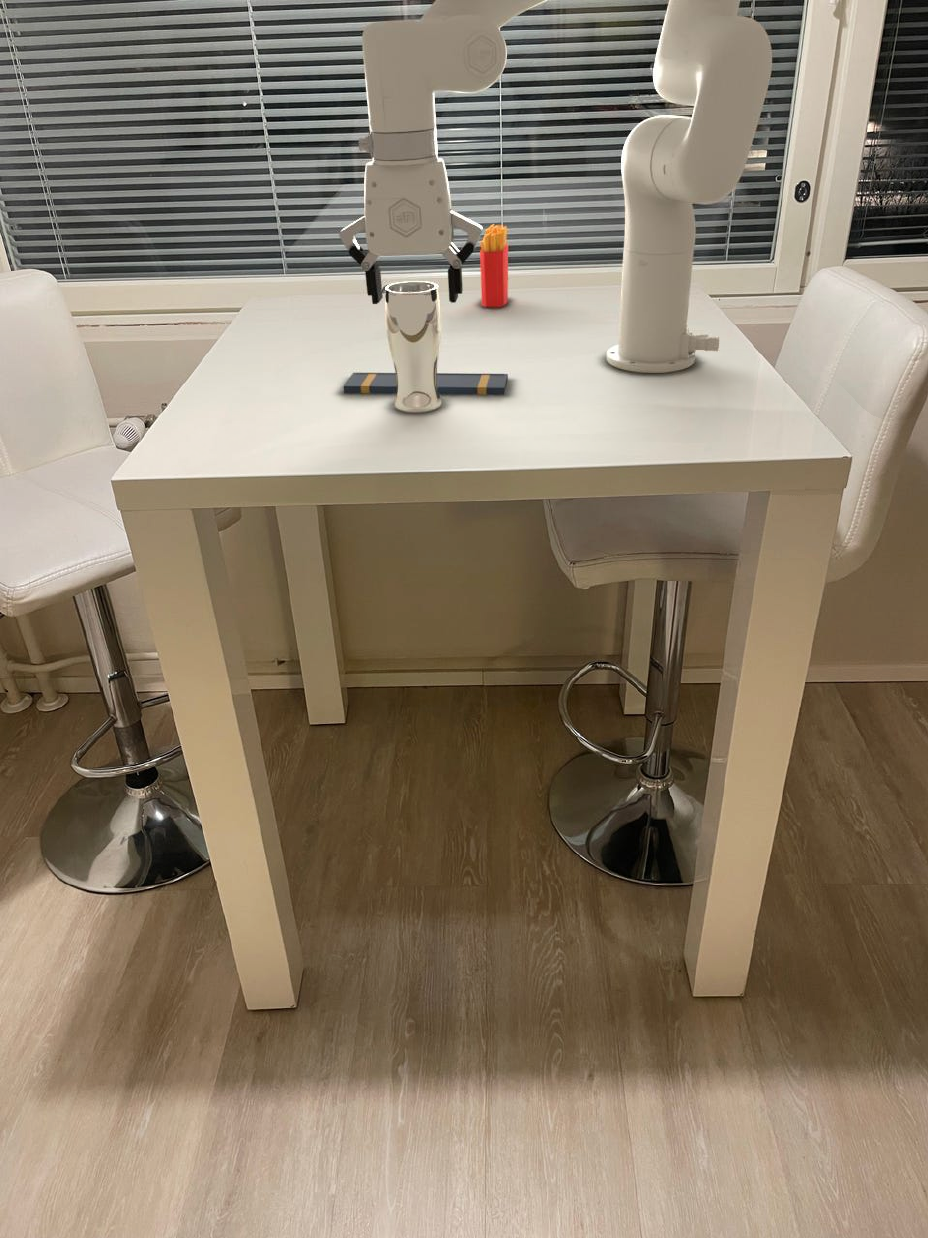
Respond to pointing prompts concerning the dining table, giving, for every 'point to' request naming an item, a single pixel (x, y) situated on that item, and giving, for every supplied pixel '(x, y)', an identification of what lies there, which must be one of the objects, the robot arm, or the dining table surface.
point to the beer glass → (414, 343)
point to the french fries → (494, 267)
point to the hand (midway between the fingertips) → (415, 300)
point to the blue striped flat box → (445, 381)
